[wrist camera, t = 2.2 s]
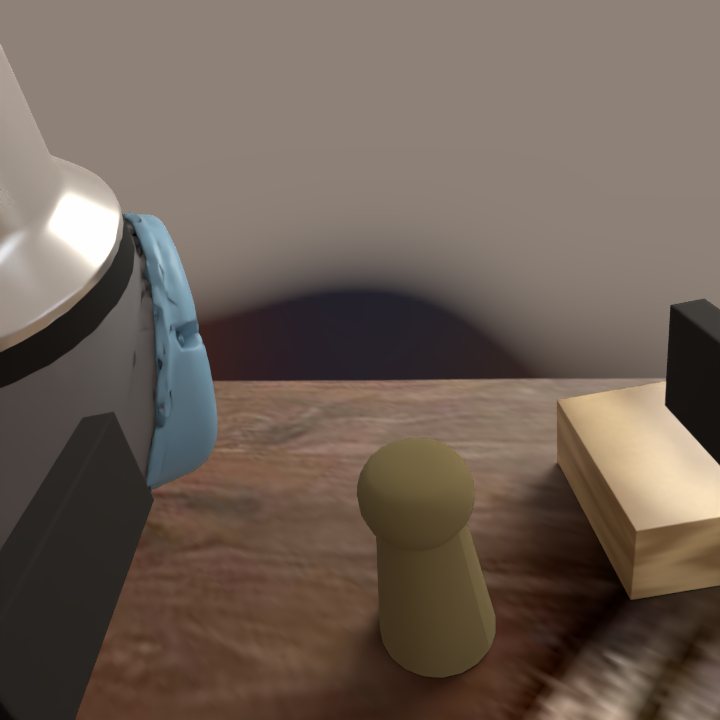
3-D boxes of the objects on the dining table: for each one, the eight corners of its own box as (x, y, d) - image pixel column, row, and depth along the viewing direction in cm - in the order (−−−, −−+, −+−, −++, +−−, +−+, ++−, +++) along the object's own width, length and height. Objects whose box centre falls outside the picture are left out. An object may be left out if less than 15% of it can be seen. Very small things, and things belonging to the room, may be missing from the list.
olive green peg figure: (357, 618, 33) (315, 463, 28) (441, 557, 36) (419, 403, 30) (430, 703, 29) (398, 537, 23) (521, 626, 31) (512, 460, 26)
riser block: (630, 600, 31) (636, 531, 29) (556, 461, 41) (556, 399, 38) (848, 564, 31) (873, 491, 29) (723, 432, 41) (733, 368, 38)
